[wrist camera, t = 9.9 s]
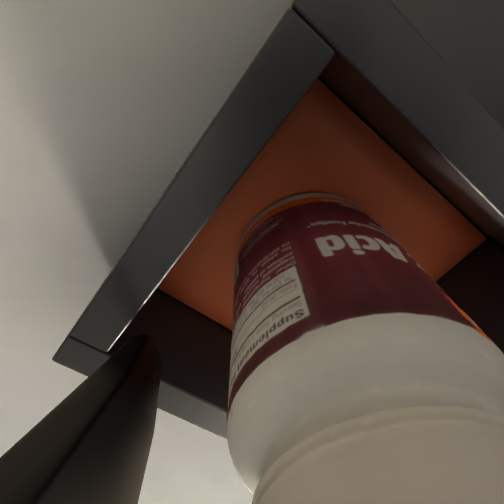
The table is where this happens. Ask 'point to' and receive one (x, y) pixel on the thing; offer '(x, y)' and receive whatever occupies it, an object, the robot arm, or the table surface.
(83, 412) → the robot arm
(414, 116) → the organiser
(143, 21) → the table surface
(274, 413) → the pill bottle
